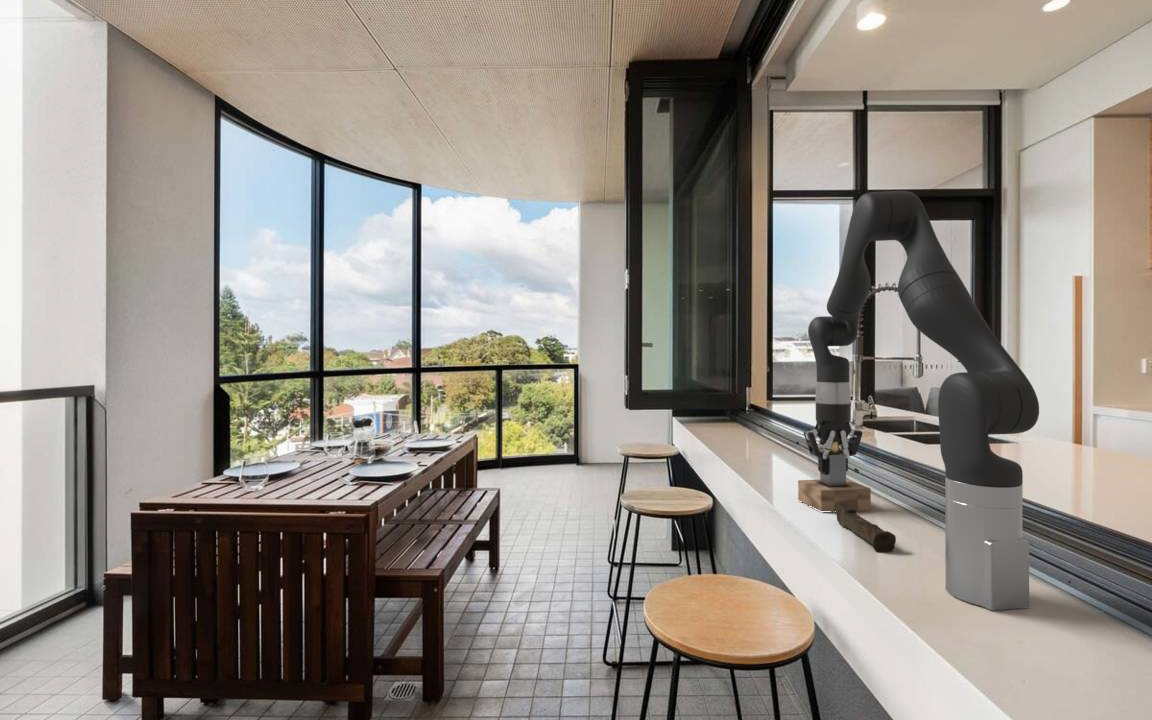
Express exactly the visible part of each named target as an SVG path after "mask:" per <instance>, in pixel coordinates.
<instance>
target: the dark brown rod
mask: <svg viewBox="0 0 1152 720" xmlns="http://www.w3.org/2000/svg"><path fill="white" fill-rule="evenodd" d="M857 512H858V511H856V510H855V509H854V508H852V507H851V506H849V505H846V504H844V503H839V504H837V507H836V512H835V513H836V520H837V523H838V522H839V523H838V525H840V526H841V528H842V529H844V528H846V529H845V530H848V529H850V530H849V531H850V532H852V533H853V534H856V535H857V536H858V537H859V538H862V539H863V541H865V542H867V543H868V544H869V545H871V546H872V547H873V549H874V551H875V552H876V553H890V552H893V551H894V550H895V547H896V546H895V545H896V542H897V537H896V535H895V534H894V533H892V532H890V531H888V530H885V529H882V528H881V527H880V526H878V524H874V523H872V522H871V521H869V520H867V519H865V518H863V517H862V516H861V515H859V514H858V513H857Z"/></svg>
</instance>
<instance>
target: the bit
mask: <svg viewBox="0 0 1152 720" xmlns="http://www.w3.org/2000/svg"><path fill="white" fill-rule="evenodd" d="M827 459H828V474H827V475H823V474H821V473H820V472H819V473H820V474H819V476H820V479H819V480H820V484H821V485H824V486H826V487H828V488H833V487H846V479H847V472H846V455H845V454H842V453H839V443H838V441H836V442H833V443H832V446H831V449H830V450H829V453H828V457H827Z"/></svg>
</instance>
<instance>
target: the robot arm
mask: <svg viewBox="0 0 1152 720" xmlns="http://www.w3.org/2000/svg"><path fill="white" fill-rule="evenodd" d="M850 216H851V217H850V220H849V225H848V229H847V232H846V233H847V234H846V237H845V242H844V247H843V252H842V257H841V261H840V262H841V263H840V268H839V272H838V275H837V278H836V280H835V283H834V285H833V288H832V290H831V292H830V295H829V297H828V300H827V303H826V311H827V313H828V314H829V315H831V316H823V315H822V316H816V317H814V318H812V320H811V321H810V323H809V325H808V329H807V330H808V331H807V333H808V339H809V343H810V345H811V349H812V352H813V356H814V359H815V363H816V365H815V366H816V386H815V397H814V398H815V400H814V401H815V422H816V423H815V426H814V428H813V429H812V430H809V431H808V430H805V431H804V432H803V436H804V439H805V442H806V443H805V444H806V446H807V449H808V451H809V454H810V455H811V456H815V457H817V469H818V471H819V473H821V474H823V475H827V474H828V459H827V457H828V453H829V450H830V449H831V446H832V443H833V442H836V441H838V443H839V453H842V454H845V455H846V473H847V472H849V471H848V470H849V458H850V457H852V456H856V455H857V453H858V450H859V447H860V443H861V440H862V437H863V434H864V433H863V431H861V430H858V429H853V428H852V426H851V424H850V422H851V418H852V412H851V411H852V409H851V407H852V406H851V404H852V402H851V401H852V399H851V396H852V393H851V392H852V391H851V385H850V362H849V359H848V358H846V357H844V356H839V355H835V354H832V352H831V351H830V349H829V347H848V346H850V345H852V344H853V343H854V342H855V341H856V340H857V338H858V335H859V321H860V316H861V315H860V314H861V310H862V308H863V307H864V304H865V302H866V300H867V297H868V296H869V294H870V293H869V292H870V289H871V283H872V282H871V281H872V280H871V276H870V272H869V270H868V269H869V268H868V266H867V263H866V260H865V251H866V249H867V248H868V245H869V244H870V242H878V241H879V242H881V241H885V242H886V241H896V242H899V243H900V244H901V246H902V247H903V249H904V252H905V254H906V261H905V263H904V266H903V268H902V271H901V273H900V276H899V279H898V282H897V283H898V284H897V294H898V295H897V296H898V297H899V300H900V302H901V304H902V306H903V308H904V310H905V312H906V314H907V316H908V318H909V320H910V321H911V323H912V325H913V326H914V327H915V328H916V329H917V330H918V331H919V332H920V333H922V335H923V336H925V337H927V338H928V339H929V340H930V341H933V343H935V344H936V345H938V346H939V347H941V348H942V349H944V350H945V351H946V352H947V353H949V354H950V355H952V356H953V357H954V358H955V359H957V361H958V362H959V363H960V364H961V366H963V368H964V369H965V370H966V372H965V371H964V372H955V373H952V374H950V375H948V376H947V377H946V378H945V379H944V380H943V382H942V384H941V386H940V388H939V391H938V392H939V393H938V397H937V398H938V399H937V412H938V413H937V414H938V427H939V428H938V429H939V440H940V441H939V445H940V447H939V448H940V454H941V458H942V462H943V465H944V471H945V473H944V475H945V479H944V480H945V482H944V483H945V490H944V491H945V498H944V499H945V503H944V504H945V506H944V507H945V513H944V514H945V516H944V517H945V518H944V519H945V521H944V522H945V523H944V526H945V531H944V532H945V533H944V534H945V536H944V537H945V538H944V539H945V540H944V543H945V544H944V545H945V553H944V555H945V559H944V560H945V563H944V564H945V590H946V592H948V593H949V594H950V595H951V596H953V597H955V598H957V599H959V600H961V601H963V602H966V603H970V604H972V605H975V606H976V605H977V606H980V607H983V608H985V609H987V610H990V611H998V610H1000V611H1001V610H1012V609H1013V610H1014V609H1027V608H1030V542H1029V541H1028V540H1027V539H1025V538H1023V502H1024V501H1023V495H1024V494H1023V492H1024V491H1023V487H1024V486H1023V482H1024V481H1023V476H1024V475H1023V469H1022V466H1021V465H1020V463H1018V462H1016V461H1015V460H1014V461H1013V460H1011V459H1008V458H1004V457H1002V456H1000V455H997V453H994V452H993V450H992V449H991V444H990V437H989V435H1013V434H1015V435H1016V434H1020V433H1022V434H1023V433H1025V432H1028V431H1030V430H1031V429H1033V428H1034V426H1036V424H1037V422H1038V420H1039V416H1040V415H1039V414H1040V403H1039V402H1040V401H1039V399H1038V396H1037V393H1036V390H1035V389H1034V387H1033V385H1032V383H1031V382H1030V380H1029V379H1028V377H1027V376H1026V375H1025V373H1024V371H1022V369H1021V368H1020V367H1019V365H1018V364H1017V363H1016V361H1015V360H1014V359H1013V358H1012V356H1011V355H1010V354H1009V353H1008V351H1007V350H1006V349H1005V347H1003V345H1002V343H1000V341H999V339H998V338H997V337H996V335H995V334H994V332H993V330H992V329H991V327H990V326H989V324H988V323H987V322H986V320H985V318H984V316H983V315H982V314H981V312H980V310H979V309H978V307H977V305H976V304H975V302H974V300H973V298H972V296H971V294H970V293H969V290H968V289H967V287H966V286H965V284H964V282H963V280H962V278H961V277H960V275H959V274H958V272H957V271H956V269H955V268H954V266H953V265H952V262H950V260H949V258H948V256H947V253H945V251H944V248H943V247H942V245H941V243H940V241H939V239H938V237H937V235H936V232H935V230H934V228H933V225H932V223H931V220H930V218H929V215H928V212H927V211H926V208H925V206H924V204H923V202H922V200H921V199H920V197H919V196H918V195H917V194H915V193H914V192H911V191H908V190H891V191H890V190H889V191H888V190H887V191H872V192H871V191H870V192H866V193H864V194H862V195H861V196H860V197H859V198H858V199H857V201H856V203H855V206H854V208H853V211H852V212H851V215H850ZM817 436H818V437H817ZM848 437H849V439H848ZM817 438H819V440H818V442H817ZM847 439H848V440H847Z"/></svg>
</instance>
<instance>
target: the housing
mask: <svg viewBox="0 0 1152 720" xmlns="http://www.w3.org/2000/svg"><path fill="white" fill-rule="evenodd" d="M797 484H798V491H797V492H798V495H797V496H798V498H797V499H798V500H800V501H802V502H804V503H805V504H807V505H810V506H812V507H814V508H816V509H818V510H820V511H836V507H837V504H839V503H844V504H846V505H849V506H851V507H852V508H854V509H855V510H856V512H861V511H862V512H866V511H872V510H871V509H872V507H871V505H872V503H871V501H872V500H871V499H872V498H871V494H872V493H871V488H870V487H867V486H865V485H862V484H860V483H857V482H855V481H851V480H849V479H847V478H846V487H833V488H828V487H826V486H824V485H821V484H820V479H803V480H800V479H799V480H798V481H797ZM800 501H799V502H800ZM802 502H801V503H802ZM805 504H804V505H805ZM807 505H806V506H807Z"/></svg>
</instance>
